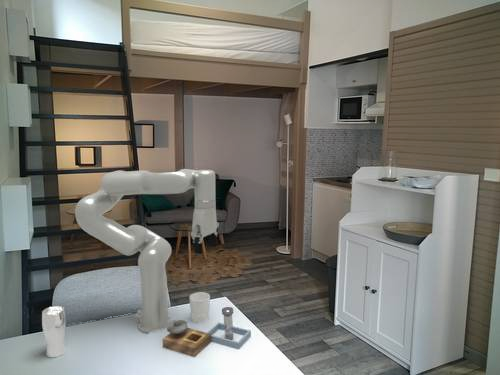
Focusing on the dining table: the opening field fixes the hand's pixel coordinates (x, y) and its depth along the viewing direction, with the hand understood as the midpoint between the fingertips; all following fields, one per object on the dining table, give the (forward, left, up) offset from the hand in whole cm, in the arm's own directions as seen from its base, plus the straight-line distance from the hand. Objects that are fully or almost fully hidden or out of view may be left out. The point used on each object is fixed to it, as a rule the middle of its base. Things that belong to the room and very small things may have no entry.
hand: (205, 249), depth 143 cm
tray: (+12, -5, -30) cm, 33 cm away
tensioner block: (+1, -15, -30) cm, 34 cm away
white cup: (-5, +3, -31) cm, 31 cm away
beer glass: (-36, -37, -31) cm, 60 cm away
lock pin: (+13, -5, -30) cm, 33 cm away
